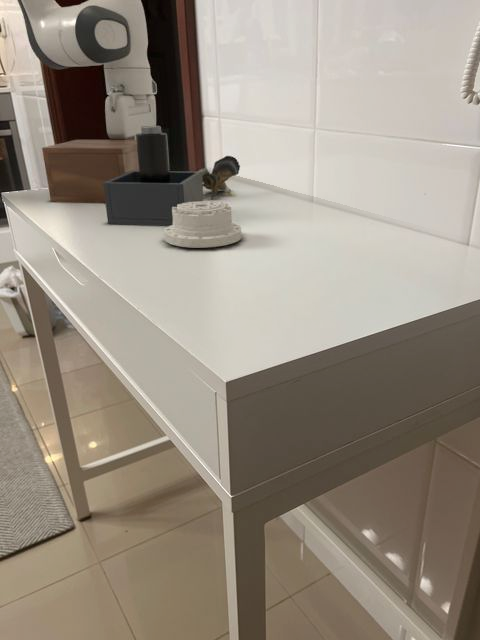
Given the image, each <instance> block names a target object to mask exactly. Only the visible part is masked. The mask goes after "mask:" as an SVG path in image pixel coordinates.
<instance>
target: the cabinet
mask: <svg viewBox="0 0 480 640" xmlns="http://www.w3.org/2000/svg"><path fill="white" fill-rule="evenodd" d="M41 150H42V157H43V162H44V163H43V164H44V169H45V174H46V180H47V186H48V187H47V188H48V193H49V198H50V202H51V203H52V202H53V203H54V202H55V203H56V202H57V203H59V202H60V203H97V204H98V203H100V204H101V203H104V204H105V196H104V188H103V183H104V182H106V181H109V180H111V179H113V178H115V177H118V176H120V175H122V174H125V173H127V172H129V171H139V162H138V152H137V141H136V140H125V139H74V140H73V139H72V140H69V141H66V142H65V141H64V142H61V143H56V144H52V145H47V146H43V147H41Z"/></svg>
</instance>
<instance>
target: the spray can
mask: <svg viewBox="0 0 480 640" xmlns="http://www.w3.org/2000/svg"><path fill="white" fill-rule="evenodd" d="M136 141H137V152H138V162H139V172H140V182H141V183H170V170H171V169H170V157H169V144H168V134H167V132H162V127H161V126H160V125H156V126H142V127H141V133H138V134H136Z"/></svg>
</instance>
